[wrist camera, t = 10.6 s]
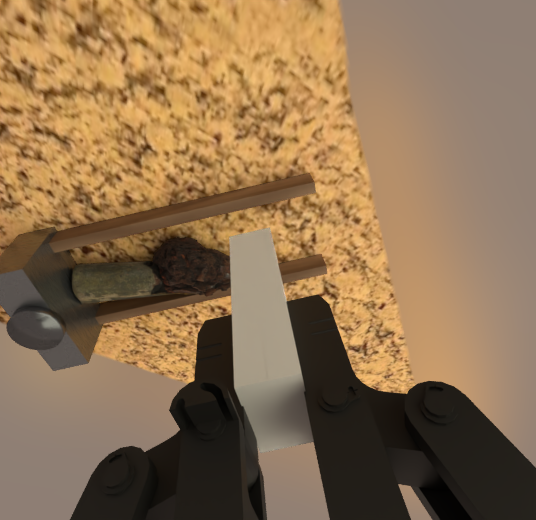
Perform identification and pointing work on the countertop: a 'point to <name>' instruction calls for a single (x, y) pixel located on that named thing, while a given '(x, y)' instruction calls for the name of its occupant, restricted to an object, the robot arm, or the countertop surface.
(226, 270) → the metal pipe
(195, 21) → the countertop surface
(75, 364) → the block
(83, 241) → the channel rails
